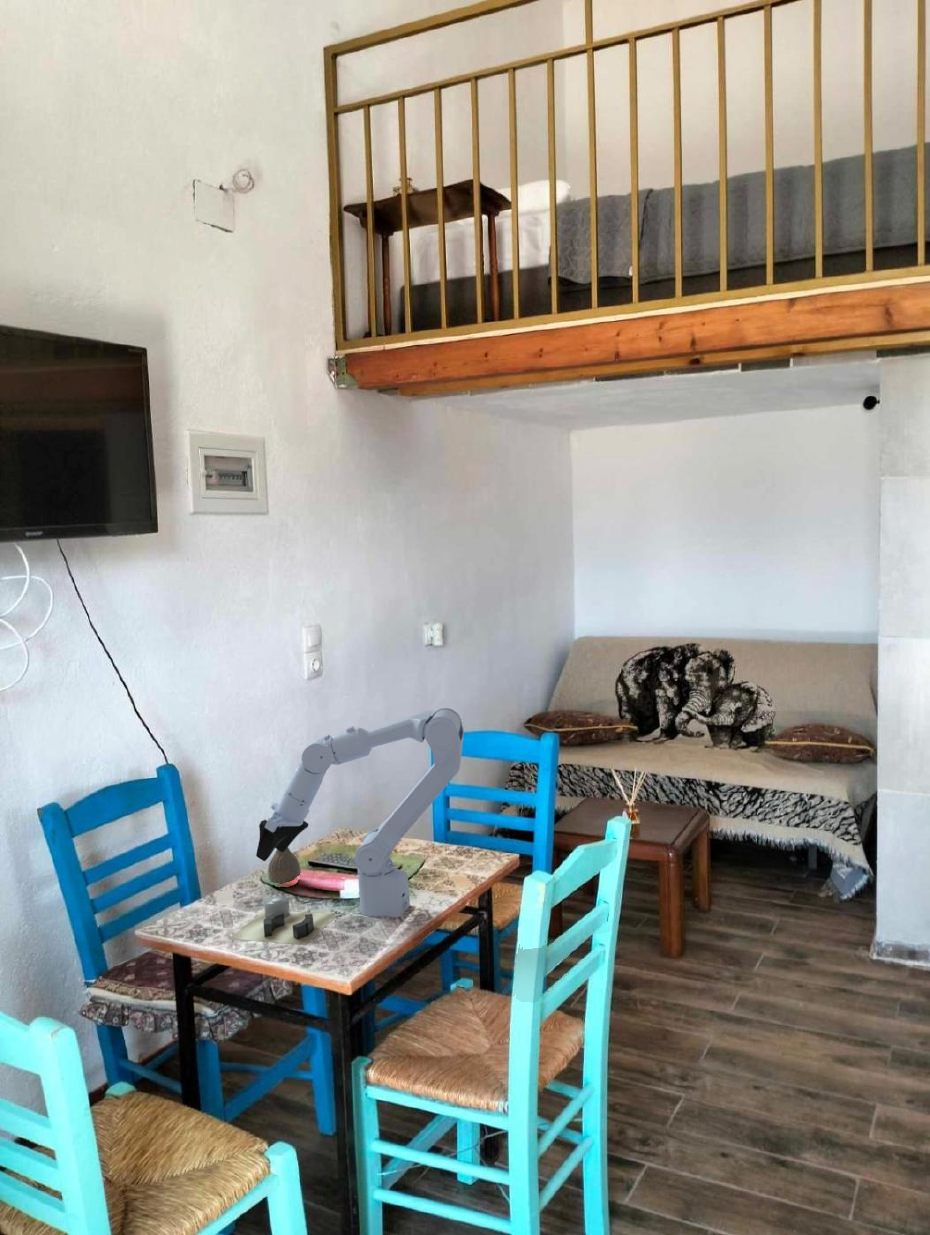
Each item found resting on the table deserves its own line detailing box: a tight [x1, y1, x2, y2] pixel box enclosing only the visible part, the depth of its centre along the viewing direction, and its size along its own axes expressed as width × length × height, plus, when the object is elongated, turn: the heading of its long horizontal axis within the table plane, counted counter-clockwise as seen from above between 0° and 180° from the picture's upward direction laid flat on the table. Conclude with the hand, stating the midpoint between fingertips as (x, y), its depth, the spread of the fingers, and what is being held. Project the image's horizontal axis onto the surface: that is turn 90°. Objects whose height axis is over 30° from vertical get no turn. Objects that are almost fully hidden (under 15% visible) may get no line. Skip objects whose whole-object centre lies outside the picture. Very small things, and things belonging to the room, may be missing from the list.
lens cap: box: [263, 895, 291, 918], centre depth 196 cm, size 5×5×3 cm
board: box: [228, 910, 339, 946], centre depth 191 cm, size 16×14×1 cm
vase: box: [267, 847, 302, 884], centre depth 214 cm, size 7×7×9 cm
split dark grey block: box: [263, 912, 314, 940], centre depth 188 cm, size 9×6×2 cm
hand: (270, 853), depth 198 cm, fingers open, 7 cm apart
